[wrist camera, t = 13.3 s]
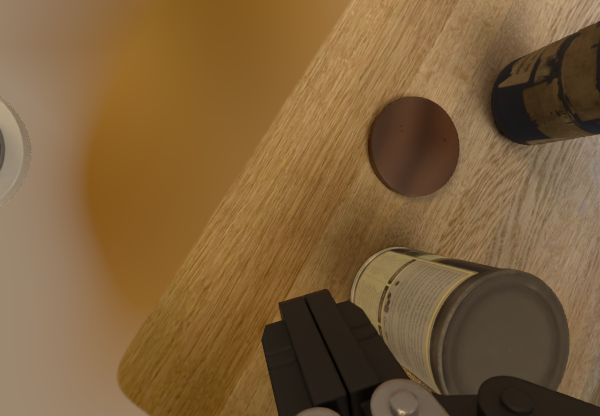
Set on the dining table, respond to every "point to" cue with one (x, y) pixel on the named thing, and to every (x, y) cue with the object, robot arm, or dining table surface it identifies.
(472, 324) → the coffee can
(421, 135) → the dark brown wooden coaster
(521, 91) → the canister
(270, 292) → the dining table surface
